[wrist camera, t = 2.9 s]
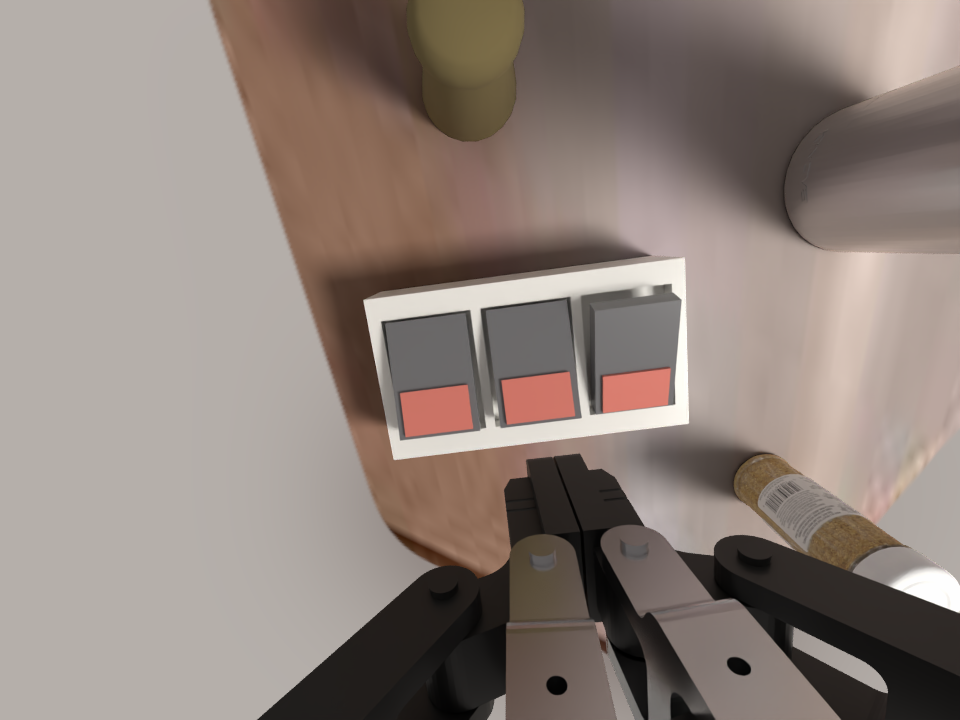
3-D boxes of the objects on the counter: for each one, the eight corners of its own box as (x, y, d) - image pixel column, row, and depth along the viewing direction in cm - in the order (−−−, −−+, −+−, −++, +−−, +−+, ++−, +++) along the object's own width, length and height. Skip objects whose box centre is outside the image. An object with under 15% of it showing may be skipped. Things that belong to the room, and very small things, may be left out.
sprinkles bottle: (746, 514, 37) (893, 661, 24) (721, 470, 36) (861, 598, 23) (799, 485, 36) (980, 620, 23) (775, 440, 35) (950, 554, 22)
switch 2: (672, 292, 27) (683, 301, 25) (665, 394, 30) (674, 406, 29) (589, 303, 27) (595, 312, 25) (591, 404, 30) (596, 416, 29)
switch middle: (563, 302, 28) (567, 299, 27) (578, 415, 28) (582, 418, 27) (485, 312, 29) (485, 310, 27) (500, 425, 28) (500, 428, 27)
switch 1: (466, 315, 29) (465, 312, 27) (480, 427, 29) (480, 431, 27) (389, 325, 29) (384, 323, 27) (403, 437, 29) (399, 441, 27)
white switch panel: (652, 255, 32) (684, 257, 27) (657, 397, 34) (688, 423, 29) (381, 291, 32) (363, 300, 27) (405, 429, 35) (393, 460, 30)
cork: (533, 67, 29) (566, -37, 19) (489, 159, 30) (496, 112, 20) (447, 17, 29) (429, -120, 18) (406, 113, 30) (366, 39, 19)
